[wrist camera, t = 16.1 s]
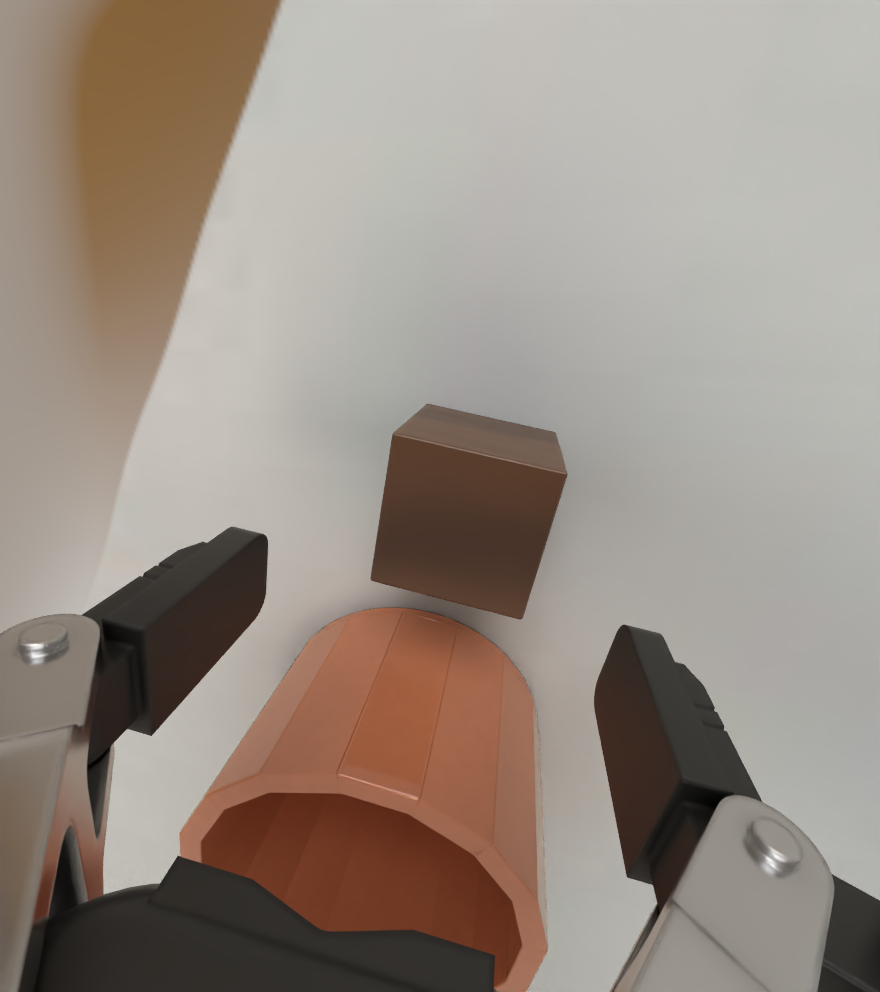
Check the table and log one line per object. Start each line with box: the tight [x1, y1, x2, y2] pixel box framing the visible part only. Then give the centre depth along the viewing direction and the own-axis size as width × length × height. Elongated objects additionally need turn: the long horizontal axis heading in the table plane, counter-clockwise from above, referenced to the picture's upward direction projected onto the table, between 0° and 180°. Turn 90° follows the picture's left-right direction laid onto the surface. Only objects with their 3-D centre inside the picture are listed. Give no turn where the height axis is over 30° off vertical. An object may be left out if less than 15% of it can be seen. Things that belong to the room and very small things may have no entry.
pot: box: [180, 608, 548, 992], centre depth 19 cm, size 13×13×8 cm
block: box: [371, 404, 567, 619], centre depth 16 cm, size 5×5×5 cm
